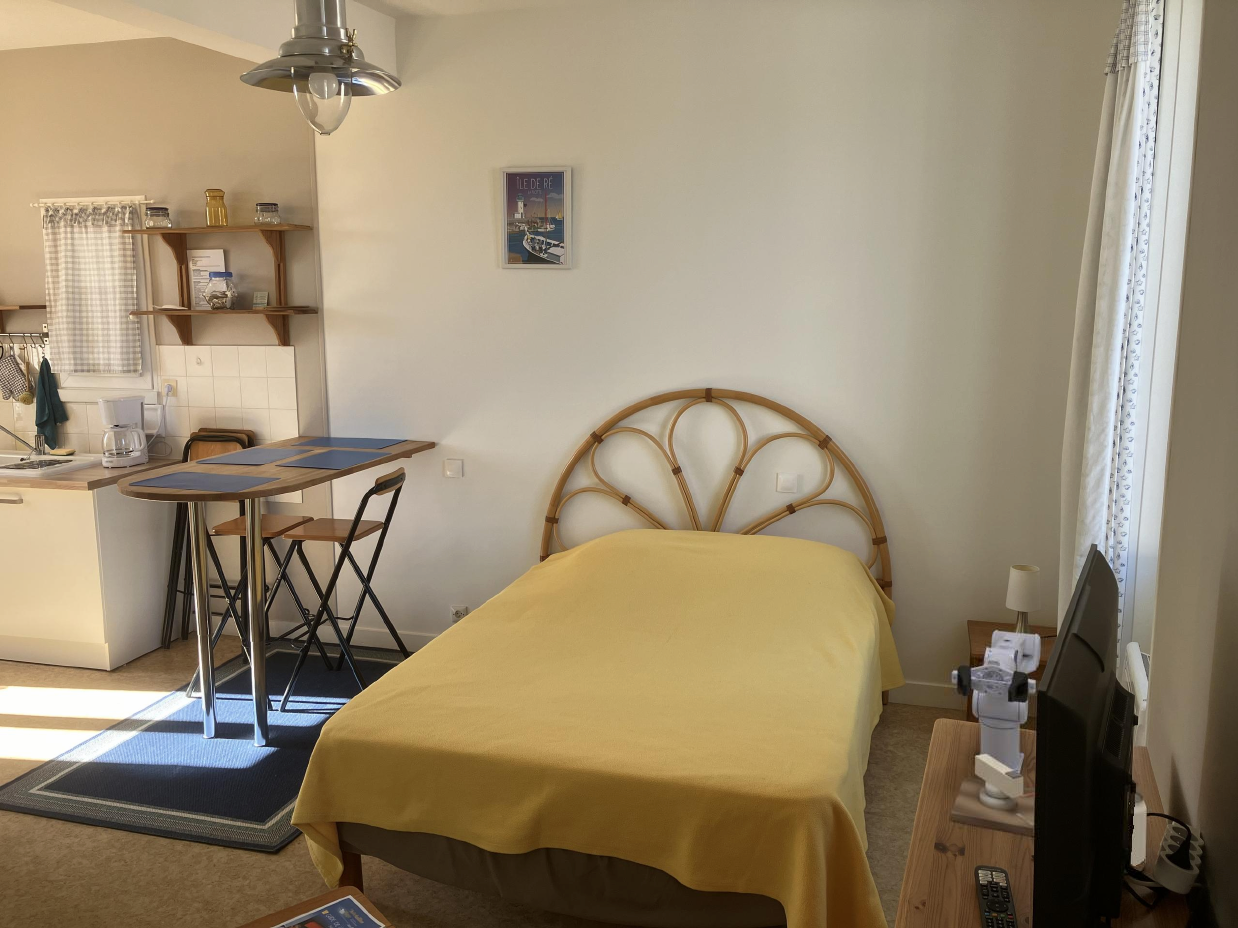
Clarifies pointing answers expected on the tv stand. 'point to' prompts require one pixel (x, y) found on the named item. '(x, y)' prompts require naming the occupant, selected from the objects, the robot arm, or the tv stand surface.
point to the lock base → (994, 809)
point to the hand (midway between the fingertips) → (987, 693)
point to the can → (1139, 830)
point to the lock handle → (998, 777)
